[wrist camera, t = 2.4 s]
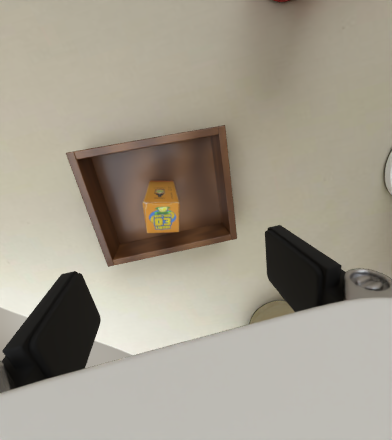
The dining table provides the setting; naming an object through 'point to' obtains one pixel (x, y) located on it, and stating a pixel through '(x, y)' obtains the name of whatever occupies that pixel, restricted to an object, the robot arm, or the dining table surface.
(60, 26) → the dining table surface
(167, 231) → the supplement box
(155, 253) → the wooden tray
